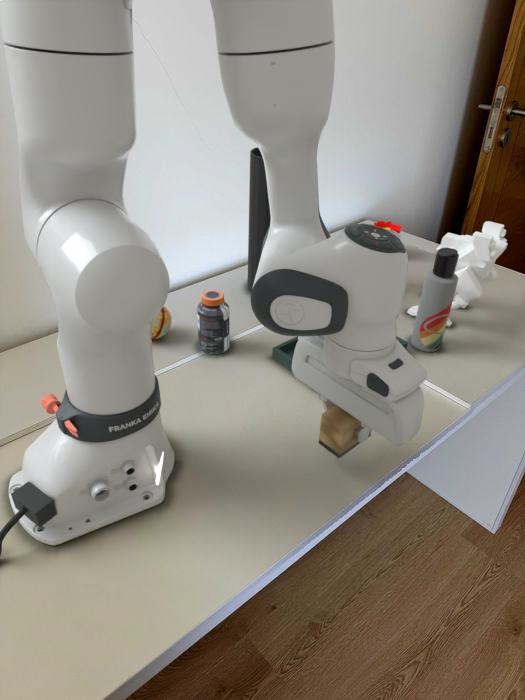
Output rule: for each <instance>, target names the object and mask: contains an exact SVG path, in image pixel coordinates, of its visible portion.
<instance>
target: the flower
mask: <svg viewBox="0 0 525 700" xmlns="http://www.w3.org/2000/svg"><path fill="white" fill-rule="evenodd" d="M373 225H375V226H378V227H381V228H384V229H386V230H392V231H395V232H397V233H399V234H401V232H402V225H400V224H394V223H392V222H391V220H388V221H386V222H385V221H384V220H379V221H378V222H375V221H373Z"/></svg>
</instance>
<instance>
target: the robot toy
mask: <svg viewBox="0 0 525 700" xmlns="http://www.w3.org/2000/svg"><path fill="white" fill-rule="evenodd" d="M506 235H507V229H505V224H502V223H498V222H494V221H490V220H488V221H487V220H486V221H485V222H483V224H482V229H481V232H480V231H477V230H476V231H475V232H473V233H472V235H469V234H465V235H464V234H461V235H460V234H456V233H452V232H447V233H446V234H445V235H443V237H442V238H441V241H440V244H439V245H438V246H437V247H436V248H435V250H436V253H437V251H438V250H439V249H441V248H452V249H456V250H457V251H458V254H459V258H458V262H457V265H456V269H455V272H454V273H455V274H456V275H457V276H458V283H457V287H456V290H455V294H454V298H453V302H452V305H451V309H450V311H451V310H458V309H459V308H461V309H466V307H467V306H468V305H469V304H470V303H471V302H472V301H474V300H477V299H479V298H481V296H482V295H483V294H484V291H483V287H484V286H485V284H487V283H490V282H492V281H494V280H495V279H496V278H497V277H498V273H497V270H496V268H495V264H496V261H497V259H498V258H499V257H500V256H501V255H502V254H503V253H504V252H505V250H506V249H507V247H508V244H509V243H508V242H507V241H508V239H506V238H505V236H506ZM418 307H419V305H413V306H410V308H408V309H407V311H406V313H407V314H409V315H410V316H411V317H415V318H416V316H417V311H418ZM452 325H453V322H452V321H451V319H450V317H448V320H447V324H446V327H449V328H451V326H452Z"/></svg>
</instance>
